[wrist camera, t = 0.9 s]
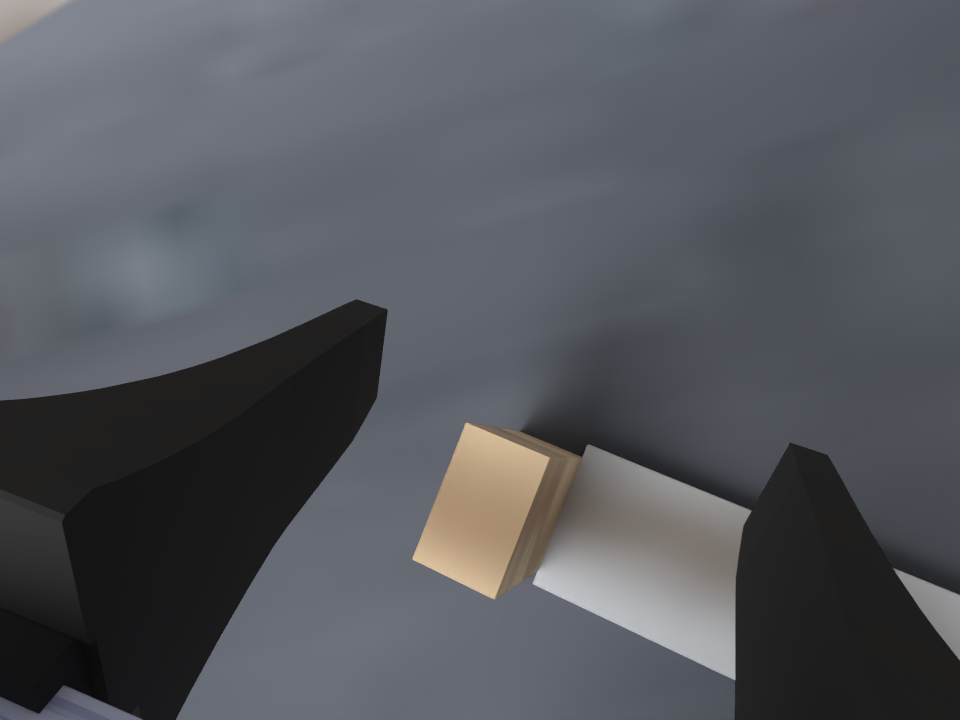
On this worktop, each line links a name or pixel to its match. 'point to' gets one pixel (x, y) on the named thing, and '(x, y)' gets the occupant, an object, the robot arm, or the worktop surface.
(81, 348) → the worktop surface
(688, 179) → the worktop surface
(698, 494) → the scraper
